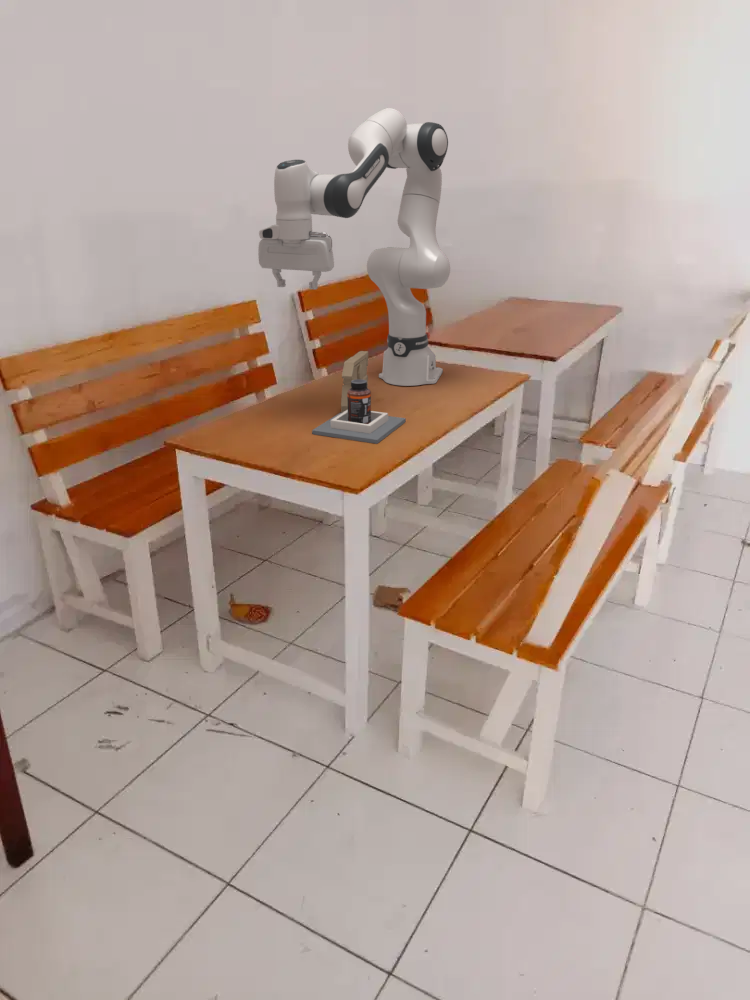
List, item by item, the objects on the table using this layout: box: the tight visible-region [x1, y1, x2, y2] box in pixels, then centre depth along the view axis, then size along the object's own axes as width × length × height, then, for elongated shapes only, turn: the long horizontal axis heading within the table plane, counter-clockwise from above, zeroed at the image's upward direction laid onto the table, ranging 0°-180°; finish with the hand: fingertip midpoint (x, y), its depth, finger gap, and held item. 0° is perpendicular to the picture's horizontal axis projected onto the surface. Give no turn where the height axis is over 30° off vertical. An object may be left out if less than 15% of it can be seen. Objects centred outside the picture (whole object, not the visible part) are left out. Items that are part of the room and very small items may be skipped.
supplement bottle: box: [347, 379, 372, 424], centre depth 200 cm, size 6×6×11 cm
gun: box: [340, 350, 369, 413], centre depth 217 cm, size 24×3×15 cm, turn 170°
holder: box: [311, 410, 407, 445], centre depth 202 cm, size 18×18×3 cm
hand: (297, 288), depth 201 cm, fingers open, 8 cm apart
